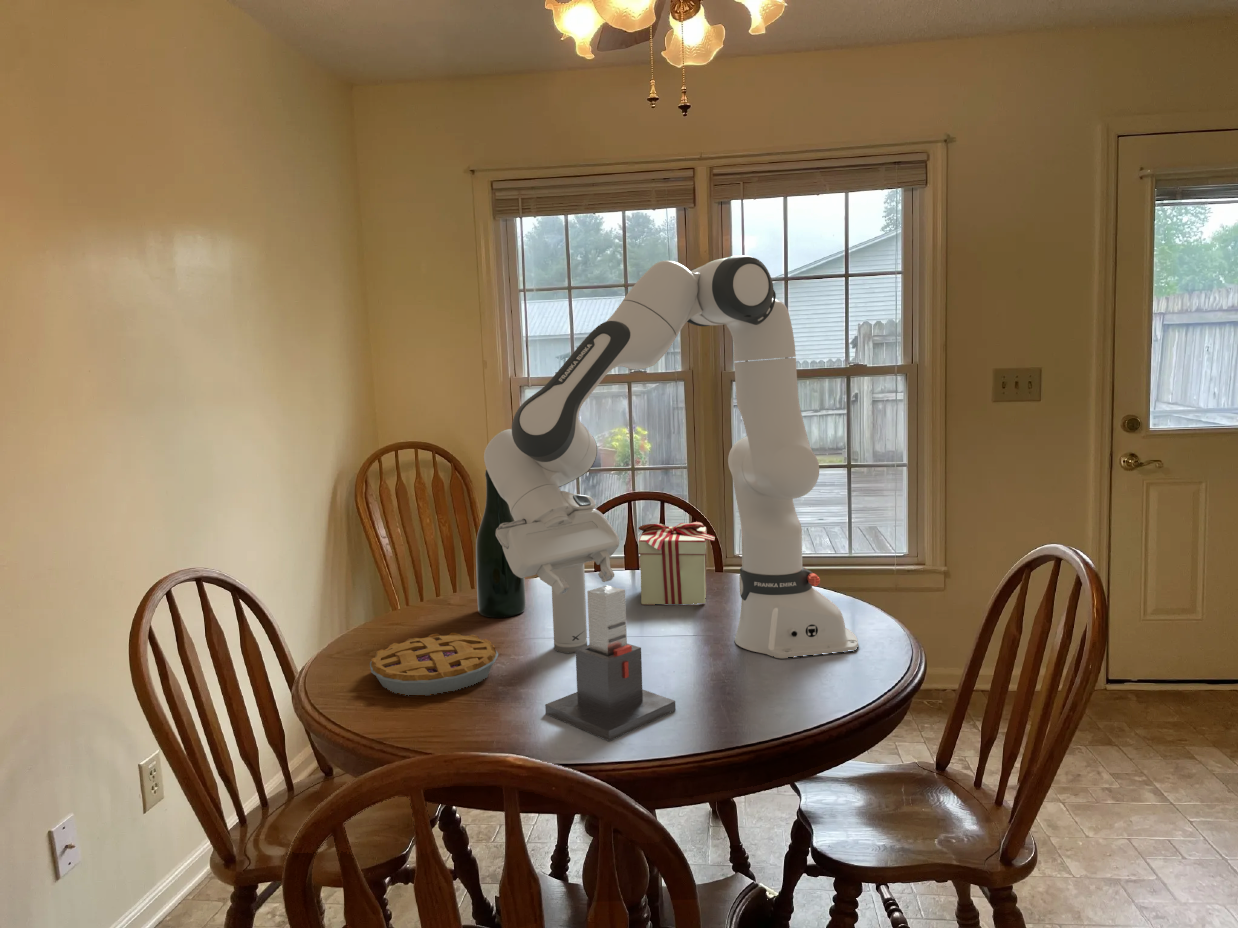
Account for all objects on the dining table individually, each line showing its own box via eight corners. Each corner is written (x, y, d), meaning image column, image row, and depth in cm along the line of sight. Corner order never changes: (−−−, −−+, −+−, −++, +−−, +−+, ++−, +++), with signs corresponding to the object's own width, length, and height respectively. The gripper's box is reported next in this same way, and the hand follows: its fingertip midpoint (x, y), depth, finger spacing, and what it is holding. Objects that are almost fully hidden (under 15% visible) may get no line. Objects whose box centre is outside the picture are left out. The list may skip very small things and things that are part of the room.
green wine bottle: (525, 603, 185) (518, 459, 181) (527, 616, 174) (520, 464, 171) (478, 607, 183) (470, 461, 179) (478, 620, 173) (469, 466, 169)
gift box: (640, 610, 176) (637, 532, 174) (640, 588, 195) (638, 517, 193) (718, 609, 176) (717, 530, 174) (712, 586, 194) (710, 515, 192)
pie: (357, 670, 146) (355, 643, 145) (473, 646, 157) (471, 621, 156) (389, 711, 127) (387, 680, 127) (518, 681, 138) (517, 652, 138)
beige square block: (610, 694, 127) (606, 585, 125) (630, 701, 123) (626, 589, 122) (590, 702, 124) (586, 590, 122) (610, 710, 121) (606, 595, 119)
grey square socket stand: (611, 687, 134) (609, 623, 132) (675, 710, 124) (673, 641, 122) (545, 713, 124) (542, 645, 123) (609, 741, 114) (606, 666, 113)
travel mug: (584, 653, 150) (580, 547, 148) (550, 652, 151) (545, 547, 149) (592, 642, 156) (588, 540, 154) (559, 641, 157) (555, 540, 155)
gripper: (498, 512, 122) (542, 587, 116) (599, 495, 136) (642, 561, 130) (483, 538, 125) (524, 611, 119) (582, 519, 139) (624, 583, 133)
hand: (587, 585), depth 125 cm, fingers open, 8 cm apart
